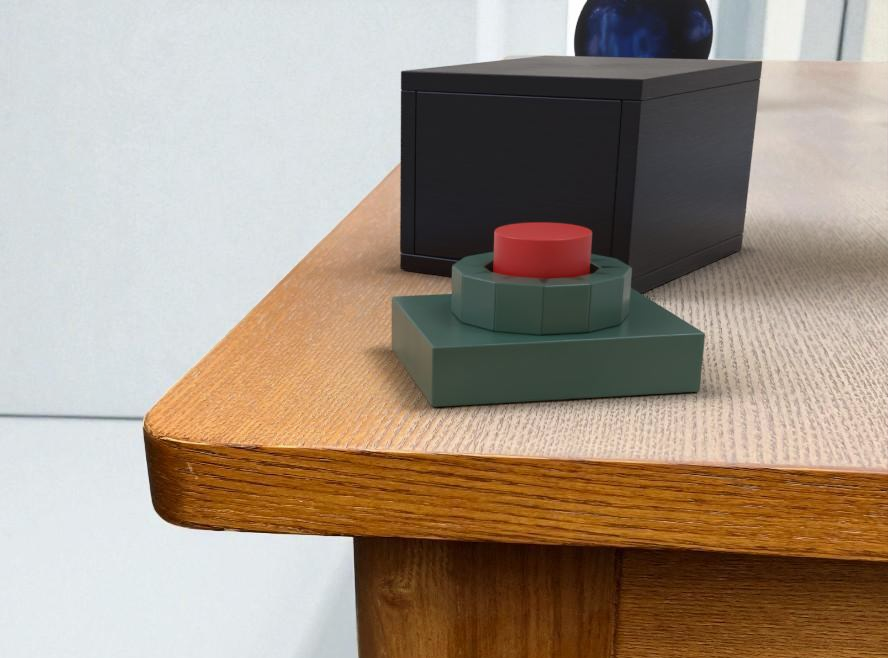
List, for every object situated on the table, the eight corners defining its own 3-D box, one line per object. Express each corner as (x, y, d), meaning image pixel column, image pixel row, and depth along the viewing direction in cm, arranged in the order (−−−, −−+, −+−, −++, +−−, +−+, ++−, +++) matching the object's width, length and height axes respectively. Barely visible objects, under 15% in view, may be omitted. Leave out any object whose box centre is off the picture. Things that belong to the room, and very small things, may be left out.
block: (624, 337, 54) (631, 241, 52) (700, 392, 47) (711, 282, 45) (391, 349, 53) (391, 251, 51) (431, 407, 45) (433, 295, 44)
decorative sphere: (561, 114, 141) (569, -35, 135) (579, 102, 154) (587, -34, 148) (702, 117, 137) (717, -37, 131) (708, 104, 150) (722, -36, 144)
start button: (572, 265, 50) (574, 220, 49) (602, 285, 47) (605, 237, 46) (482, 270, 50) (484, 224, 49) (506, 290, 46) (508, 241, 46)
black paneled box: (537, 227, 78) (544, 55, 74) (741, 249, 71) (762, 60, 67) (399, 270, 67) (400, 70, 63) (625, 301, 60) (642, 79, 56)
